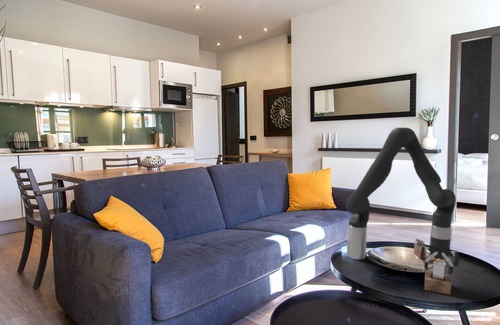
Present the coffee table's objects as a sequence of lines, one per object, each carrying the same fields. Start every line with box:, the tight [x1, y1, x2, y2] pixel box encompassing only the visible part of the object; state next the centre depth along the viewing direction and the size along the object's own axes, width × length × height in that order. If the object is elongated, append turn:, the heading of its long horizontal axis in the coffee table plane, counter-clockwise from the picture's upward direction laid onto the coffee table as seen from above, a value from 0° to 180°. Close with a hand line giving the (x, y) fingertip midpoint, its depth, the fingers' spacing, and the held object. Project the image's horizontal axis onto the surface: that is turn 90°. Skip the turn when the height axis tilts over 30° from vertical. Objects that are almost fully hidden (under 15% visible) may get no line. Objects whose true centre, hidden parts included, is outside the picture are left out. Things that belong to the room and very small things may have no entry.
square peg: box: [432, 260, 445, 281], centre depth 141 cm, size 4×4×10 cm
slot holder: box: [424, 269, 452, 296], centre depth 142 cm, size 9×9×5 cm
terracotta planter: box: [413, 238, 427, 259], centre depth 171 cm, size 8×3×10 cm, turn 9°
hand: (438, 271), depth 141 cm, fingers open, 8 cm apart
